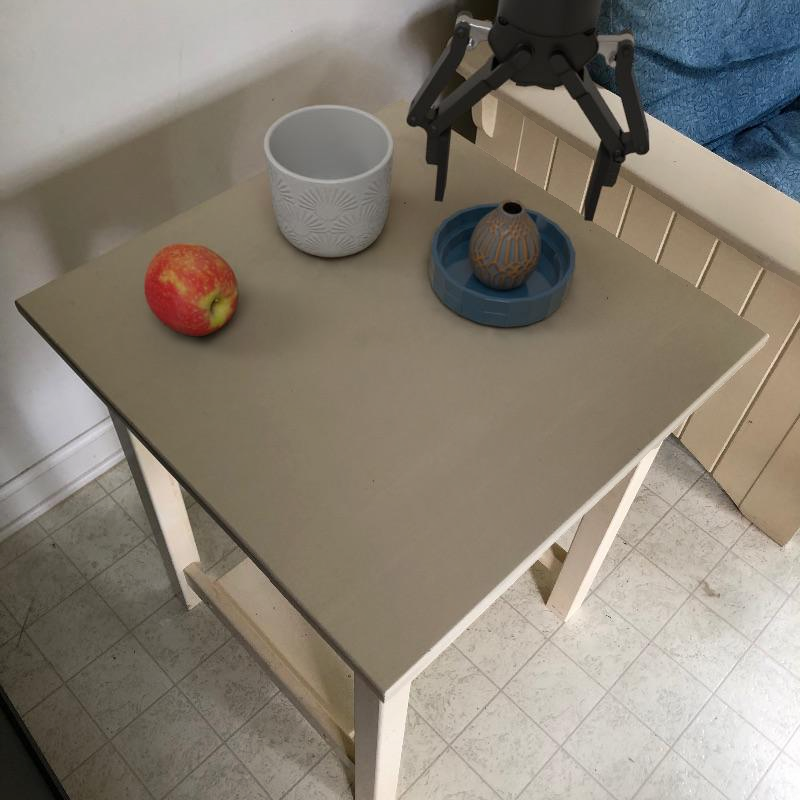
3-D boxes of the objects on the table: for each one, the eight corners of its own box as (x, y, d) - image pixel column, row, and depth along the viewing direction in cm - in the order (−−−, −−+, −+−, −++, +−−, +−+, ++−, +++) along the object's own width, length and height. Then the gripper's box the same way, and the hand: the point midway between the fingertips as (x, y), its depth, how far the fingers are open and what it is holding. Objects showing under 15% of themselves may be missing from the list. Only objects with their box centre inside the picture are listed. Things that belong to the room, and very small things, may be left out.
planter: (409, 251, 86) (415, 163, 77) (297, 283, 82) (290, 195, 73) (363, 181, 92) (363, 93, 84) (257, 208, 89) (246, 119, 80)
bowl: (564, 340, 79) (573, 311, 76) (419, 319, 80) (422, 290, 77) (569, 243, 87) (577, 213, 84) (438, 225, 88) (441, 195, 85)
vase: (506, 244, 86) (519, 175, 79) (547, 285, 83) (565, 216, 76) (452, 267, 84) (460, 197, 77) (492, 310, 80) (505, 241, 73)
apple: (193, 364, 75) (178, 303, 69) (135, 318, 78) (115, 256, 72) (257, 317, 79) (248, 255, 73) (199, 275, 82) (186, 212, 76)
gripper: (730, -43, 60) (650, 193, 77) (393, -79, 62) (386, 160, 79) (740, 6, 56) (652, 246, 72) (375, -35, 57) (372, 209, 74)
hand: (513, 202), depth 75 cm, fingers open, 13 cm apart
